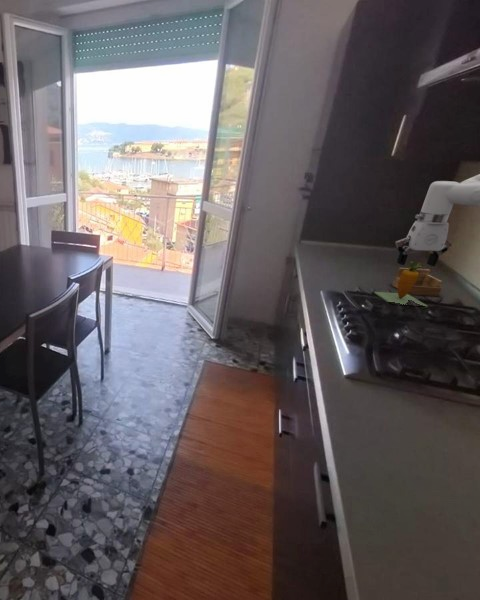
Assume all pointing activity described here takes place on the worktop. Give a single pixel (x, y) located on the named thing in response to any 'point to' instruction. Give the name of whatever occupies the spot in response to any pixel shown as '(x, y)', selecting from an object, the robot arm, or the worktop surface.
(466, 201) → the robot arm
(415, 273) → the carrot
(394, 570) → the worktop surface
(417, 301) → the mat
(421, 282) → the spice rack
